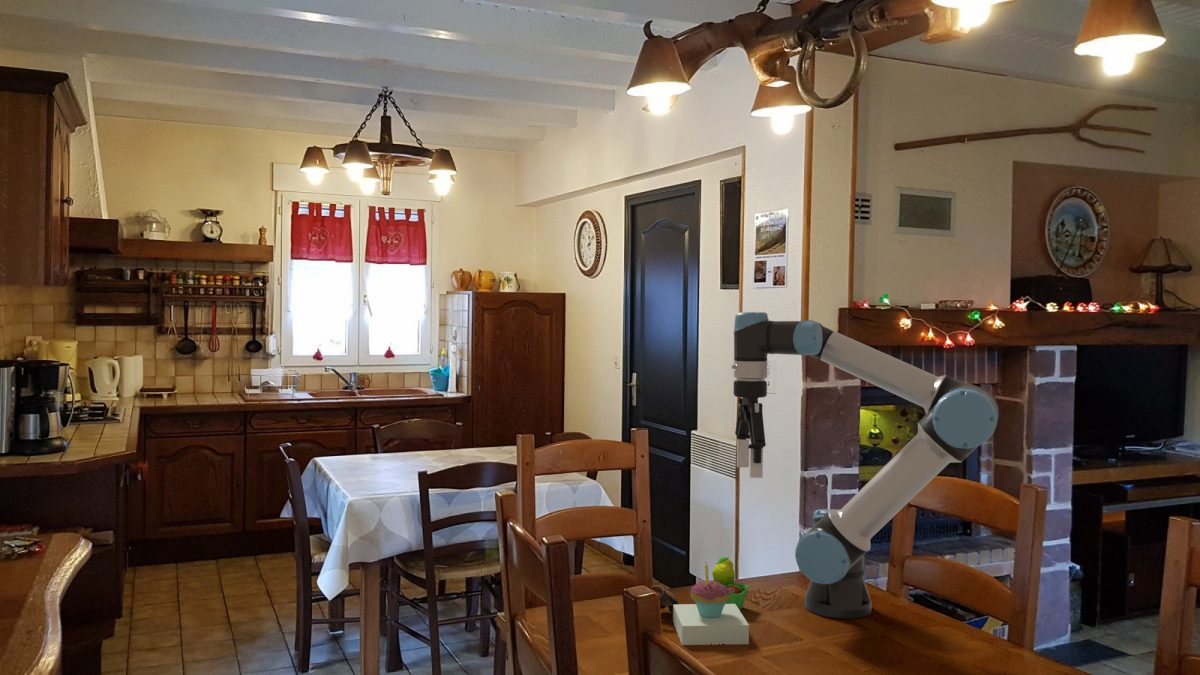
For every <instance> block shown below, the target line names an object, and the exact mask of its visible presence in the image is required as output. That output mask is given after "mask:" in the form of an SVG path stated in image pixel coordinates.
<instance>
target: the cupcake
mask: <svg viewBox="0 0 1200 675" xmlns="http://www.w3.org/2000/svg"><path fill="white" fill-rule="evenodd" d="M704 571H705V573H704V574H705V575H704V576H705V580H706V581H704V580H702V581H699V582H697V583H694V585H692V587H691V589H690V597H691V599H692V601H694V604H696V605H697V608H698V612H699V615H701V616H703V617H707V618H716V617H719V616H721V614H722V610H723V607H724V605H725V604H726V602H727V600H729V599H730V593H729V590H728V588H727V587H726V586H724V585H723V584H721V583H720V582H716V581H714V579H712V580H710V578H709V576H710V575H709V564H707V561H706V560H705V564H704Z"/></svg>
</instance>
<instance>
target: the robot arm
mask: <svg viewBox="0 0 1200 675" xmlns="http://www.w3.org/2000/svg"><path fill="white" fill-rule="evenodd" d="M768 315H769V314H768V313H767V312H765V311H763V312H759V311H758V312H757V311H756V312H754V311H753V312H752V311H751V312H750V311H748V312H746V311H743V312H742V311H740V312H738V313H736V314H735V316H734V317H735V318H734V330H733V352H734V353H733V356H734V357H733V364H732V365H731V369H732V370H733V377H734V381H733V396H734V397H737V398H738V400H737V401H738V406H737V407H738V408H737V415H736V421H735V422H736V424H735V431H734V434H735V436H736V438H737V440H736V441H737V442H736V443H737V444H736V445H737V449H736V468H749V478H750V479H751V478H753V479H754V478H757V479H758V478H760V479H763V474H764V473H763V472H764V471H763V470H764V469H763V468H764V466H763V462H764V460H763V459H764V458H763V454H764V447H766V445H767V443H766V435H765V426H764V416H763V406H764V405H763V402H759V398H766V397H767V395H768V382H767V381H766V379H767V378H768V354H769V355H789V356H790V355H791V356H792V355H794V356H804V357H805V356H810V357H812V358H814V359H817V360H819V361H822V362H824V363H826V364H828V365H831V366H832V367H835V368H837V369H839V370H841V371H843V372H846V373H847V374H850V375H853V376H854V377H857V378H859V379H861V380H863V381H865V382H867V383H870V384H872V385H874V386H876V387H877V388H881V389H883V390H885V391H887V392H889V393H892V394H893V395H896V396H898V397H900V398H902V399H904V400H907V401H908V402H911V403H912V404H915V405H917V406H920V407H922V408H923V409H924V412H925V415H924V416H923V417H922V418H921V419H920V420H919V421H918V422H917V434H915V436H914V437H913V438H911V439H910V441H908V443H906V444H905V446H903V447H902V449H900V450H899V451H898V453H896V454H895V455H894V457H893V458H891V459H890V460H889V461H888V462H887V463H886V464H885V465H884V466H883V467H882V468H881V469H880V470H879V471H878V472H877V473H876V474H875V475H874V476H873V477H872V478H871V479H870V480H869V481H868V482H867V483H866V484H865V485H863V487H862V488H860V490H859V491H858V492H857V493H856V494H855V495H853V497H851V499H850V500H848V502H847V503H846V504H845V505H844V506H842V508H841V509H833V508H832V509H829V508H827V509H826V508H825V509H824V508H823V509H816V510H815V511H813V517H812V522H813V524H812V527H811V528H810V529H809V530H808V531H807V532H806V533H804V534H802V535H801V536H800V538H799V539H798V542H797V544H796V547H795V550H794V551H795V553H794V555H795V561H796V564H797V567H798V568H799V571H800V572H801V573H802V574H803V575H804V576H805V577H806V578H807V579H809V580H810V581H809V584H808V587H807V589H806V592H805V595H804V607H805V609H807V611H809V612H811V613H812V614H816V615H819V616H823V617H826V618H827V617H828V618H832V619H833V618H835V619H859V618H864V617H867V616H869V615H870V614H872V599H871V596H870V593H869V590H868V586H867V583H866V578H865V555H866V554H867V553H868V552H869V551H870V550H871V539H872V538H873V537H874V536H875V535H876V534H877V533H878V532H879V531H880V530H881V529H882V528H884V526H886V524H888V523H889V522H890V520H892V519H893V518H894V517H895V515H897V514H898V513H899V512H900V511H901V510H902V509H903V508H904V507H905V506H906V505H907V504H908V503H909V502H911V500H913V499H914V498H915V497H916V495H918V494H919V493H920V492H922V490H923V489H924V488H925V487H926V486H927V485H929V483H930V482H932V480H933V479H934V478H936V477H937V476H938V475H939V473H941V472H942V471H943V470H944V469H945V468H946V467H947V466H948V465H950V463H962V462H963V461H965V460H966V459H967V457H969V456H970V455H971V454H972V453H973V452H974V451H975V450H977V448H978V447H979V446H981V445H983V444H985V443H986V442H988V440H989V439H991V437H992V436H993V434H994V432H996V428H997V425H998V422H999V418H1000V408H999V404H998V402H997V399H996V398H995V397H994V396H993V394H991V393H990V392H989V391H988V390H987V389H985V388H983V387H981V386H978V385H975V384H972V383H968V382H964V381H961V380H958V379H956V378H953V377H950V376H949V375H946V374H944V375H943V374H942V375H940V376H937V375H935V374H932V373H930V372H928V371H926V370H924V369H921V368H919V367H917V366H915V365H913V364H910V363H908V362H905V361H903V360H901V359H899V358H896V357H894V356H892V355H890V354H887V353H886V352H882V351H881V350H878V349H875V348H874V347H871V346H869V345H866V344H865V343H862V342H860V341H858V340H855V339H853V338H851V337H848V336H846V335H844V334H842V333H840V332H838V331H834V330H832V329H831V328H827V327H826V326H824V325H822V324H821V323H820V322H818V321H815V320H811V319H810V320H809V319H808V320H783V321H781V320H777V321H776V320H769V317H768ZM735 379H736V380H735Z"/></svg>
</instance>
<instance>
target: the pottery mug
mask: <svg viewBox="0 0 1200 675" xmlns="http://www.w3.org/2000/svg"><path fill="white" fill-rule="evenodd" d="M650 587H651V588H652V589H653V590H655V591H657V592H660V593H661V594H660V596H659V600H660V610H661V611H662V610H663V609H664V610H665V608H667V609H668V612H669V614H673V604H679V601H678V599H677V597H676V596H675V595H674V593H672V592H671V591H670V590H668V589H665V587H664V586H663V585H662V584H657V585H651V586H650ZM670 612H671V613H670ZM662 614H663V612H661V614H660V615H662Z"/></svg>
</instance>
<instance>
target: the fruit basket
mask: <svg viewBox="0 0 1200 675" xmlns="http://www.w3.org/2000/svg"><path fill="white" fill-rule="evenodd" d="M729 558H730V557H727V556H726V557H725V556H721V557H720V558H719V559H718V561H717V562H716V565H715V566H714V567H713V568H712V571H711V572H712V578H713V579H712V580H714V581H716V582H720V583H721V584H723V585H724V586H726V587H727V588H728V590H729V593H730V599H729V600H727V602H726V604H736V606H737V607H738V609H739V610H740V611H741V609H743V607H744V603H745V601H746V596H747V591H748V589H749V585H747V584H741V583H736V582H735V578H736V573H735V569H734V563H733V562H732V560H730V559H729ZM703 581H706V579H705V580H703Z"/></svg>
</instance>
